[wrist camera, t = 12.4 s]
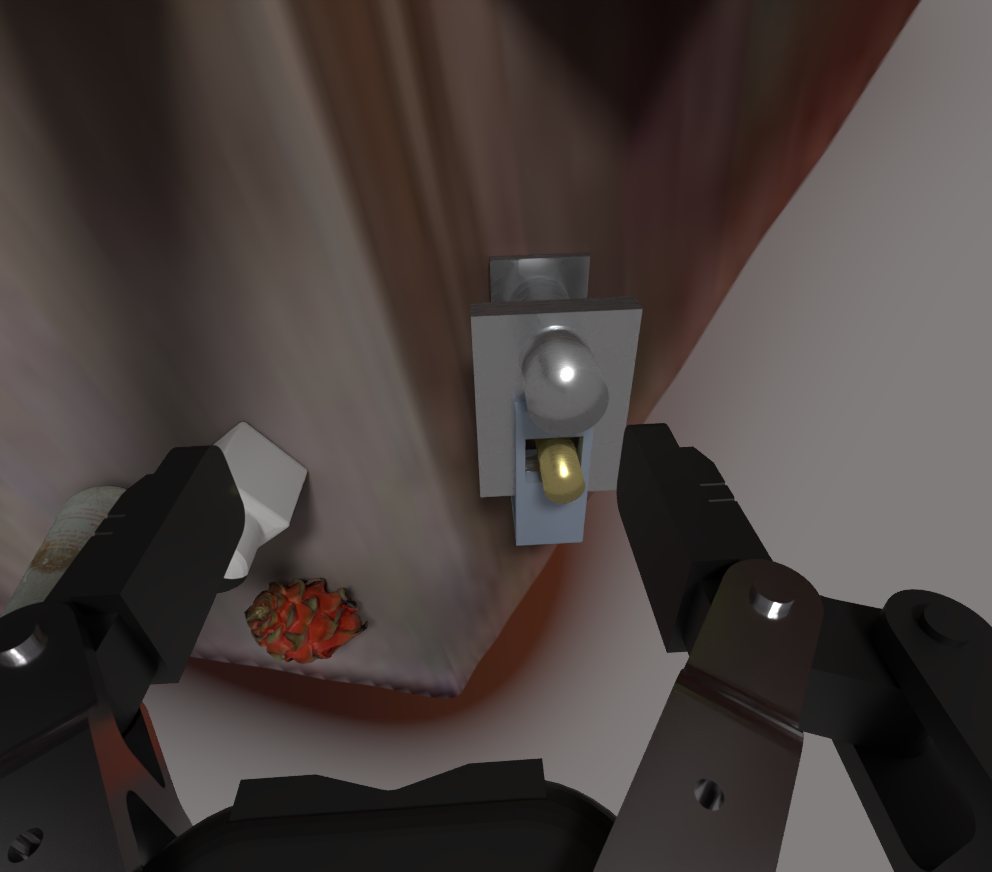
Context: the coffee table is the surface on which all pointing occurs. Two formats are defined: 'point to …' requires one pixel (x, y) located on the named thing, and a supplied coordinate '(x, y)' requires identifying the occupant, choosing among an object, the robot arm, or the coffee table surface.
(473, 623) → the coffee table surface
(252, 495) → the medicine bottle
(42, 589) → the bottle
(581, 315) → the grey piece
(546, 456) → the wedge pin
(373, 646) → the coffee table surface
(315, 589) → the dragon fruit
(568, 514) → the bracket
